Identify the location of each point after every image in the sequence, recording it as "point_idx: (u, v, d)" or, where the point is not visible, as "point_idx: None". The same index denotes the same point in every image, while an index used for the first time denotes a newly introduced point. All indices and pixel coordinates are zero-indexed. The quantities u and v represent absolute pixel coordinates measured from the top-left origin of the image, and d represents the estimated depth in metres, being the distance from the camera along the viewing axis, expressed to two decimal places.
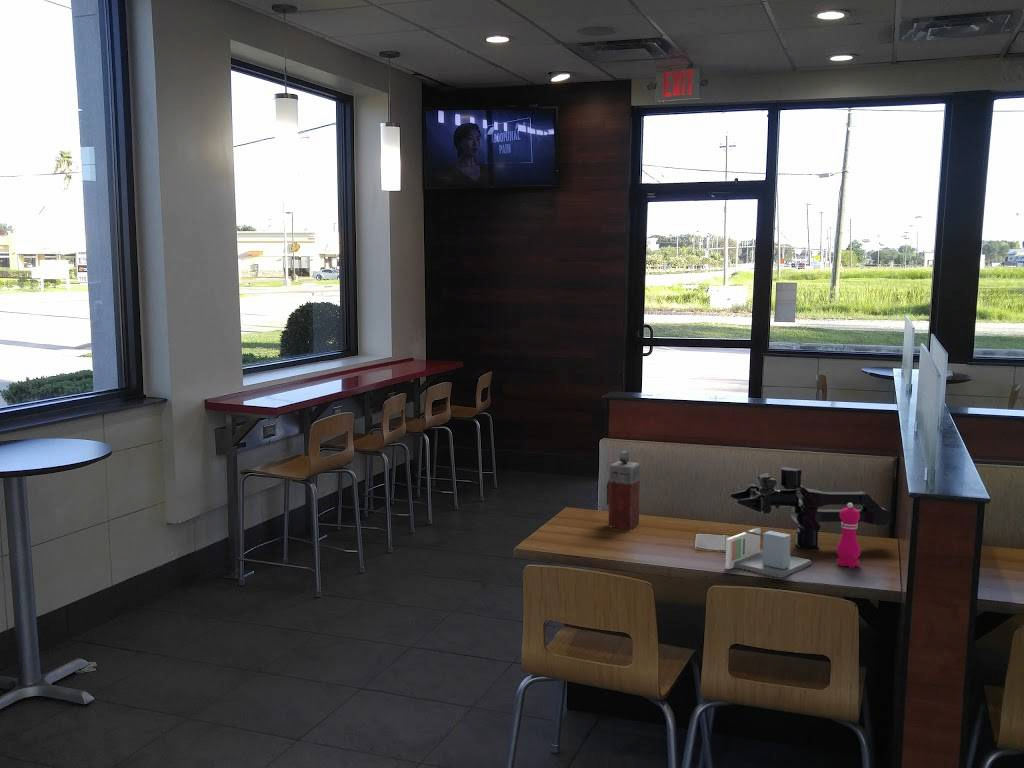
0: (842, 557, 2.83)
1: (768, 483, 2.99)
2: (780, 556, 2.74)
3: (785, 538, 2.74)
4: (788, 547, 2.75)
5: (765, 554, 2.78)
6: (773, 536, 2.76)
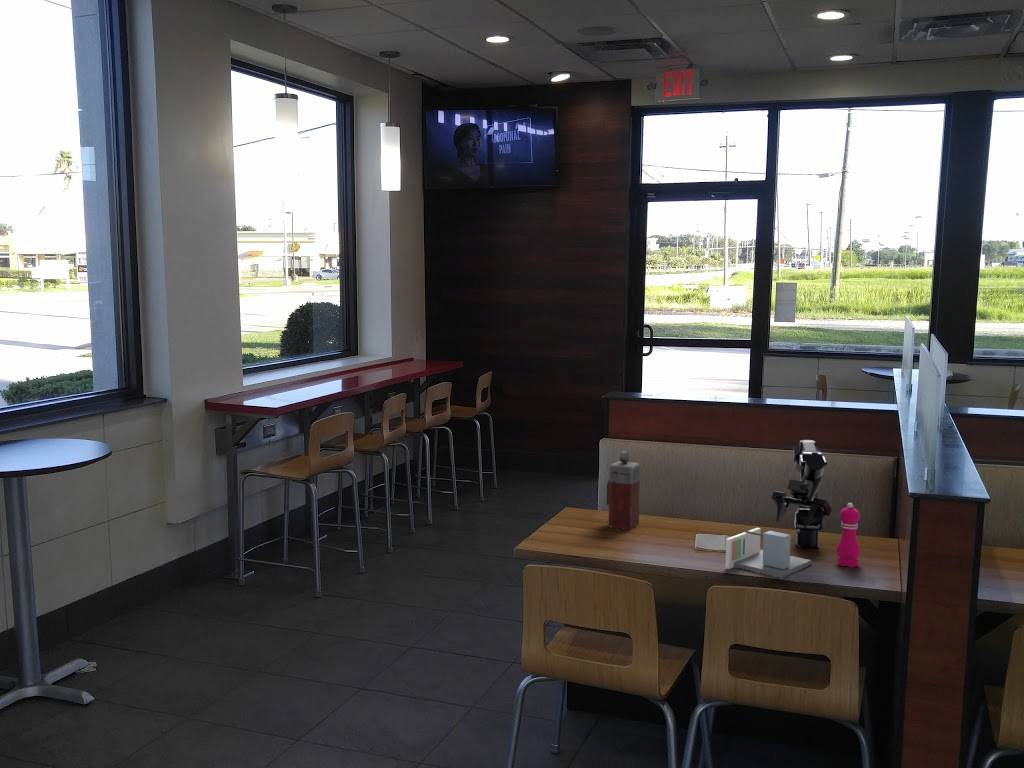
0: (842, 557, 2.83)
1: (809, 488, 2.83)
2: (780, 556, 2.74)
3: (785, 538, 2.74)
4: (788, 547, 2.75)
5: (765, 554, 2.78)
6: (773, 536, 2.76)
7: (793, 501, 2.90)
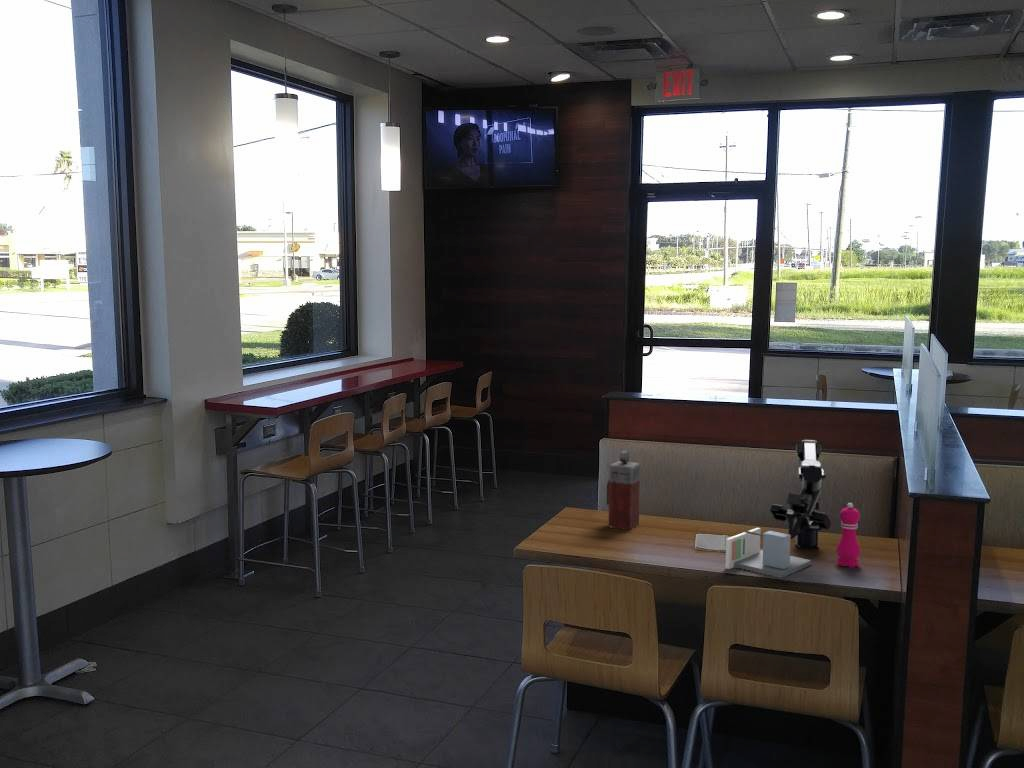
0: (842, 557, 2.83)
1: (808, 502, 2.81)
2: (780, 556, 2.74)
3: (785, 538, 2.74)
4: (788, 547, 2.75)
5: (765, 554, 2.78)
6: (773, 536, 2.76)
7: None
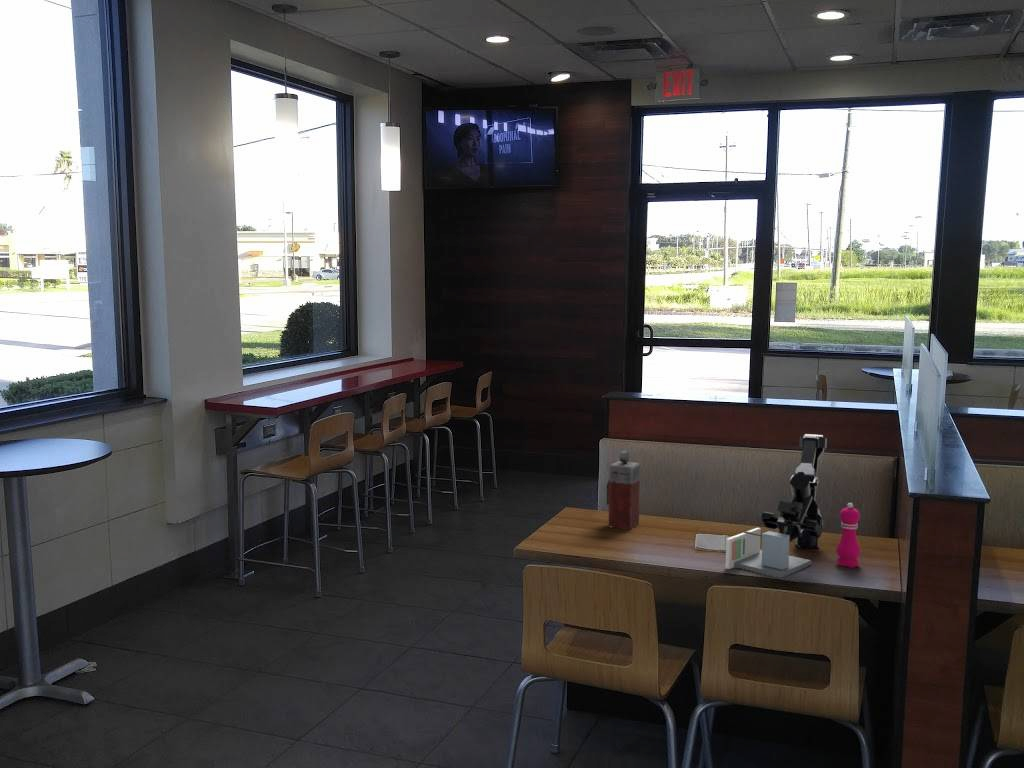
0: (842, 557, 2.83)
1: (799, 510, 2.77)
2: (779, 556, 2.74)
3: (784, 538, 2.73)
4: (787, 547, 2.75)
5: (764, 554, 2.77)
6: (772, 536, 2.75)
7: None
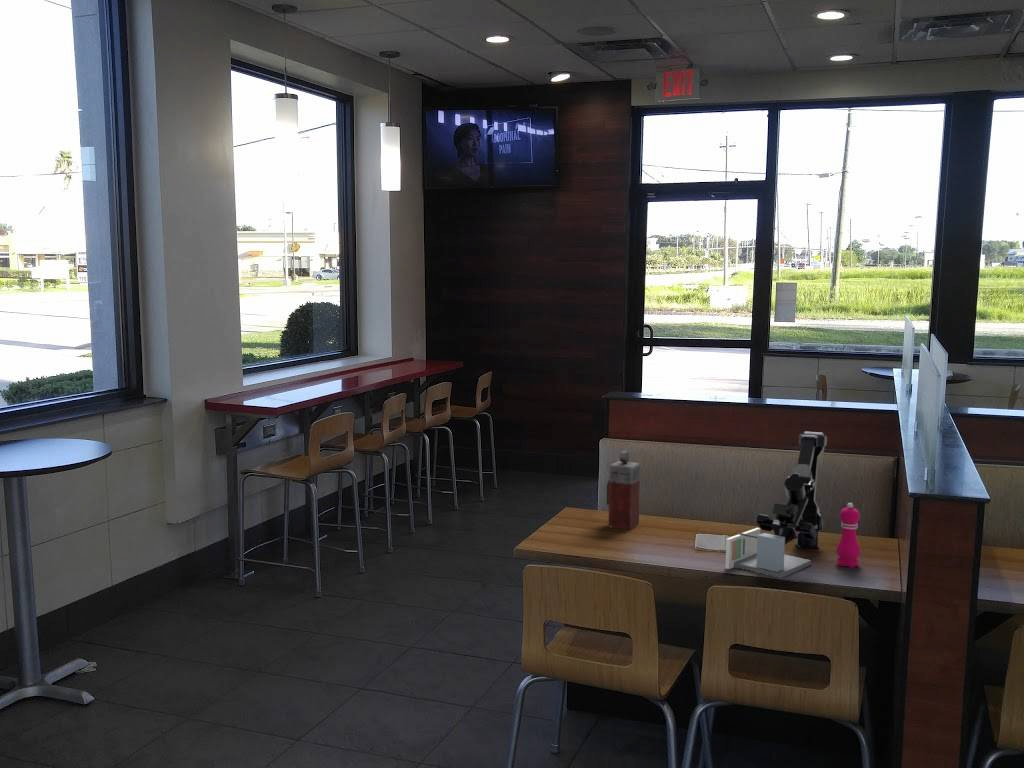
0: (842, 557, 2.83)
1: (794, 513, 2.75)
2: (774, 558, 2.72)
3: (779, 540, 2.71)
4: (782, 549, 2.73)
5: (759, 556, 2.75)
6: (767, 538, 2.73)
7: None
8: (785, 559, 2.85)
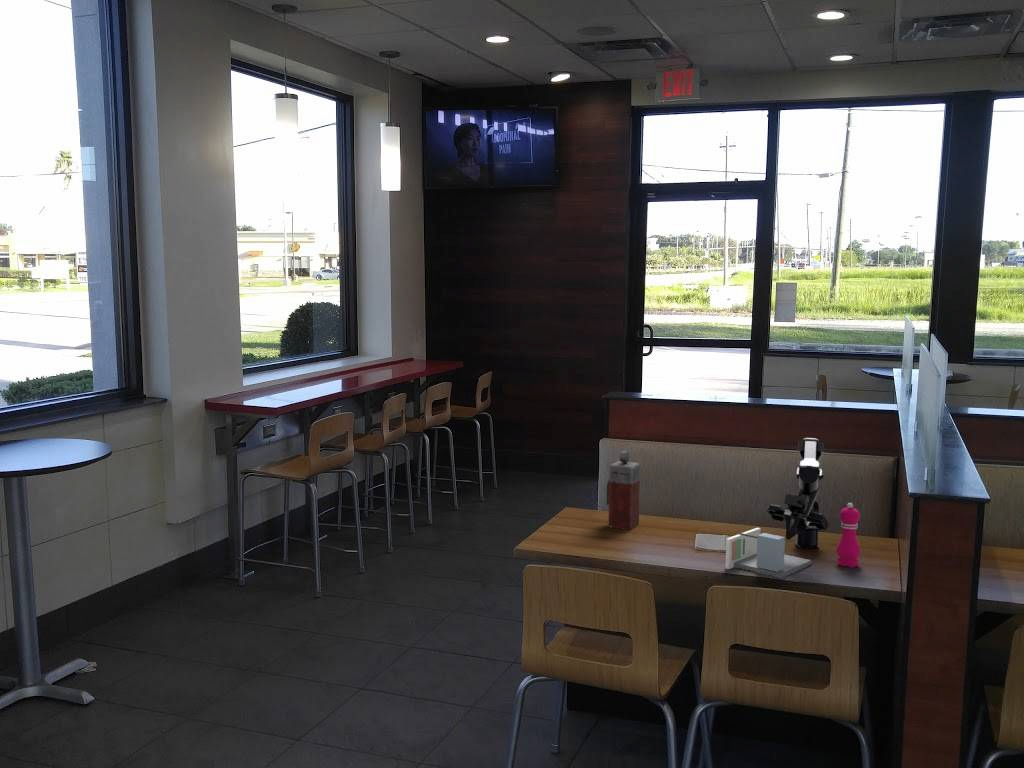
0: (842, 557, 2.83)
1: (805, 503, 2.80)
2: (774, 558, 2.72)
3: (779, 540, 2.71)
4: (782, 549, 2.73)
5: (759, 556, 2.75)
6: (767, 538, 2.73)
7: None
8: (785, 559, 2.85)
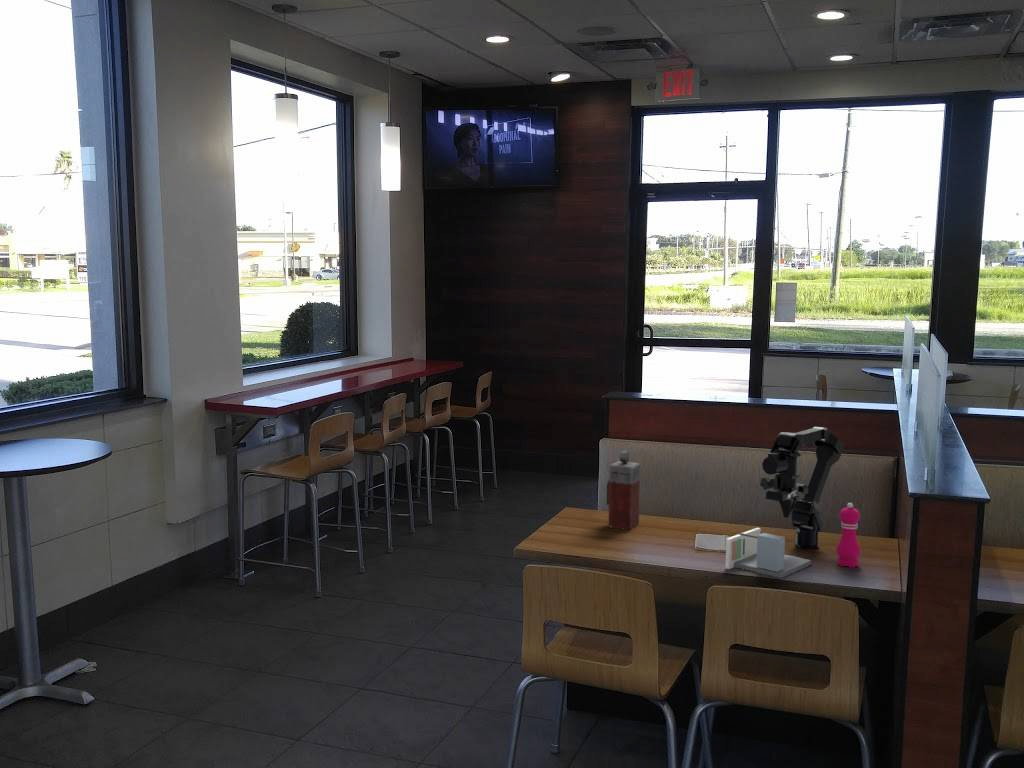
0: (842, 557, 2.83)
1: (764, 486, 2.97)
2: (774, 558, 2.72)
3: (779, 540, 2.71)
4: (782, 549, 2.73)
5: (759, 556, 2.75)
6: (767, 538, 2.73)
7: None
8: (785, 559, 2.85)
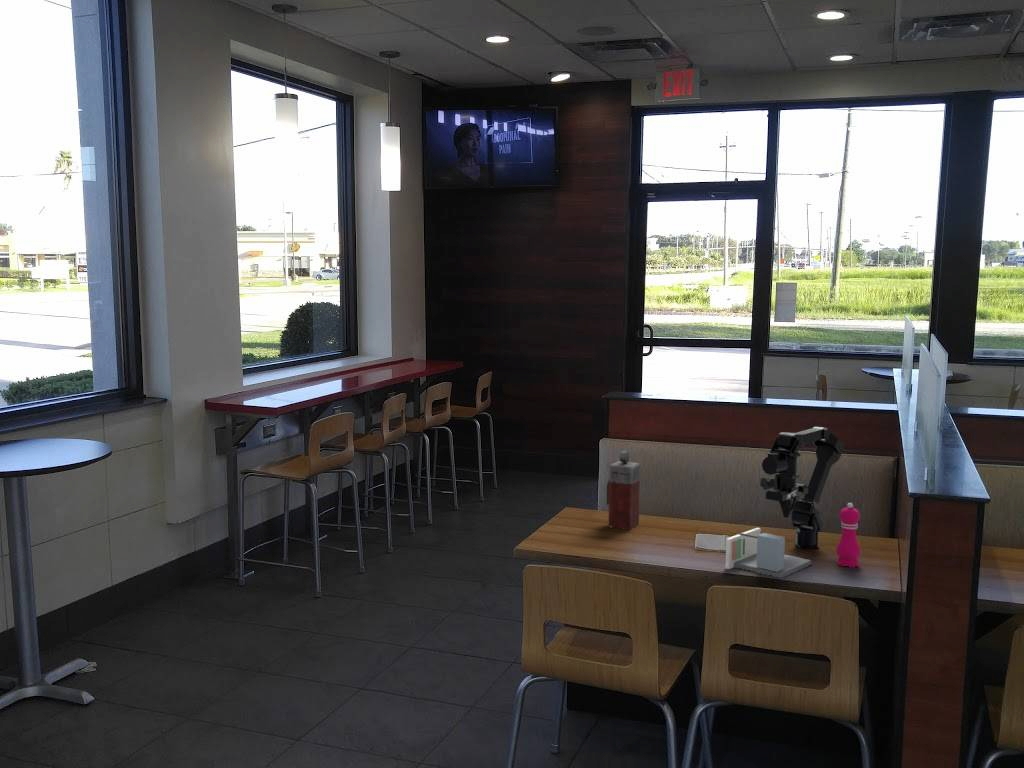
0: (842, 557, 2.83)
1: (763, 486, 2.97)
2: (774, 558, 2.72)
3: (779, 540, 2.71)
4: (782, 549, 2.73)
5: (759, 556, 2.75)
6: (767, 538, 2.73)
7: None
8: (785, 559, 2.85)
